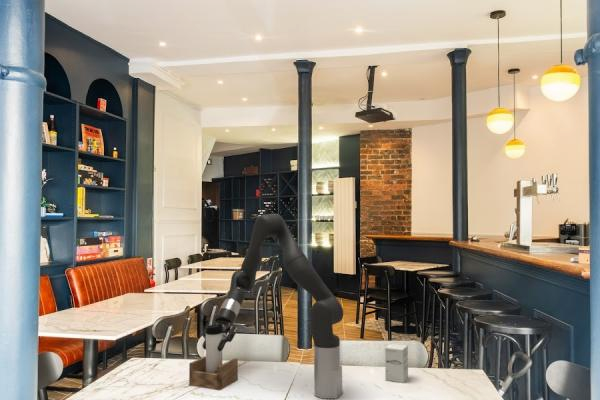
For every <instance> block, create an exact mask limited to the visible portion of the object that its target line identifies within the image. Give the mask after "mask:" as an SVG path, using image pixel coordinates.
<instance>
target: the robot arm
mask: <svg viewBox="0 0 600 400" xmlns="http://www.w3.org/2000/svg"><path fill="white" fill-rule="evenodd" d="M288 226H289V225H288V224H287V223H286V221H285V219H284V218H283V217H282V215H280V214H278V213H267V214H261V215H258V217H257V218H256V220H255V222H254V226H253V229H252V232H251V237H250V240H249V245H248V246H249V247H248V249H247V252H246V254H245V257H244V259H243V261H242V264H241V265H240V266H241V267H240V269H241V270H240V269H239V270H236V271H234V272H233V273H232V275H231V278H230V286H229V287H230V288H229V289H228V290H229V291H228V293H227V295H226V298H225V300H223V303H222V305H221V307H220V309H219V311H218V313H217V314H216V317H215V321H214V322H213V324H212V325H215V324H223V326H222V340H221V341H220V343H219V345H218V348H217V349H218V350H219V351H221V350H222V351H223V350H224V348H225V346H226V343H231V342H233V339H234V338H235V336H236V334H237V332H238V328H237V326H236V325H235V321H236V320H237V317H238V315H239V313H240V310H241V307H242V304H243V302H244V300H245V297H246V296H245V293H244V292H243V291H245V292H250V291H252V290H253V289H254V288H255V285H256V276H257V272H258V269H259V268H260V266H261V263H262V261H263V251H262V245H263V243H264V241H265V239H266V238H271V237H272V238H273V237H275V238H276V239H277V241H278V242H279V244H280V247H281V248H282V249H281V250H282V264H283V267H284V269H285V270H286V272H287V273H288V275H289V277H290V278H291V279H292V281H293V282H294V283H296V284H297V286H298V287H300V288H301V289H303V290H304V291H306V292H307V293H308V294H309V295H310V296H312V298H313V299H314V301H315V302H314V303H313V304H312V305H311V309H310V316H309V317H310V329H311V337H312V340H313V366H314V367H313V376H314V377H313V380H314V382H313V383H314V385H313V389H314V396H316V398H320V399H326V400H327V399H330V400H331V399H338V398H339V397H340V396H341V395H342V394H343V366H342V365H341V354H340V352H341V348H340V347H341V346H340V345H341V344H340V342H341V341H340V337H339V336H338V335H336V334H334V329H333V326H334V325H336V324H338V323H340V322H342V320H343V318H344V308H343V306H342V304H341V303H340V301H339V299H337V297H336V296H335V294H334V293H332V292H331V290H330V289H329V288H328V286H327V285H326V283H324V281H323V279H322V278H321V276H319V274H318V273H317V271H316V269H315V268H314V266H313V265H312V263H311V262H310V260H309V259H308V257H307V256H306V254H305V253H304V252H303V251H302V249H301V247H300V246H299V244H298V242H297V240H296V239H295V237H294V236H293V234H292V232H291V231H290V228H289V227H288ZM240 289H241V290H240ZM210 325H211V324H210V323H208V322H207V323H206V324H205V327H204V330H203V332H202V335H201V336H202V337H203V338H204V341H203V343H202V348H203V350H205V351H206V327H208V326H210Z"/></svg>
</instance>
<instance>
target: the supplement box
mask: <svg viewBox="0 0 600 400" xmlns="http://www.w3.org/2000/svg"><path fill="white" fill-rule="evenodd" d="M384 348H385V349H384V355H385V356H384V359H385V360H384V361H385V363H384V365H385V366H384V367H385V378H384V379H385V381H390V382H397V383H402V384H404V383H405V382H406V381H407V379H409V357H408V356H409V354H408V353H409V350H408V349H409V346H408V345H404V344H396V343H389V344H388V345H386V346H385V347H384Z"/></svg>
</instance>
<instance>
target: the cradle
mask: <svg viewBox="0 0 600 400" xmlns="http://www.w3.org/2000/svg"><path fill="white" fill-rule="evenodd" d="M238 365H239V364H238V358H232V359H230V360H229V361H227V362H224V363H222V365H220V366H218V367H217V374H213V373H206V355H205V356H203V357H201V358H198V359H196V360H194V361H191V362H189V366H188V367H189V368H188V371H189V374H188V375H189V381H188V383H189V385H188V386H191V387H192V386H194V387H198V388H205V389H212V390H217V391H222V389H225V388H227V387H228V386H230V385H232V384H234V383H235V382H238V380H239V379H238V378H239V377H238V375H239V374H238Z"/></svg>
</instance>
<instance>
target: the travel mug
mask: <svg viewBox="0 0 600 400" xmlns="http://www.w3.org/2000/svg"><path fill="white" fill-rule="evenodd" d="M222 326H223V324H215V325H213V324H210V326H208V327H206V326H205V327H206V350H205V356H206V373H213V374H217V367H218V366H220V365H222V364H223V350H221V351H219V350H218V349H217V348H218V345H219V343H220V341H221V340H222Z"/></svg>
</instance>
